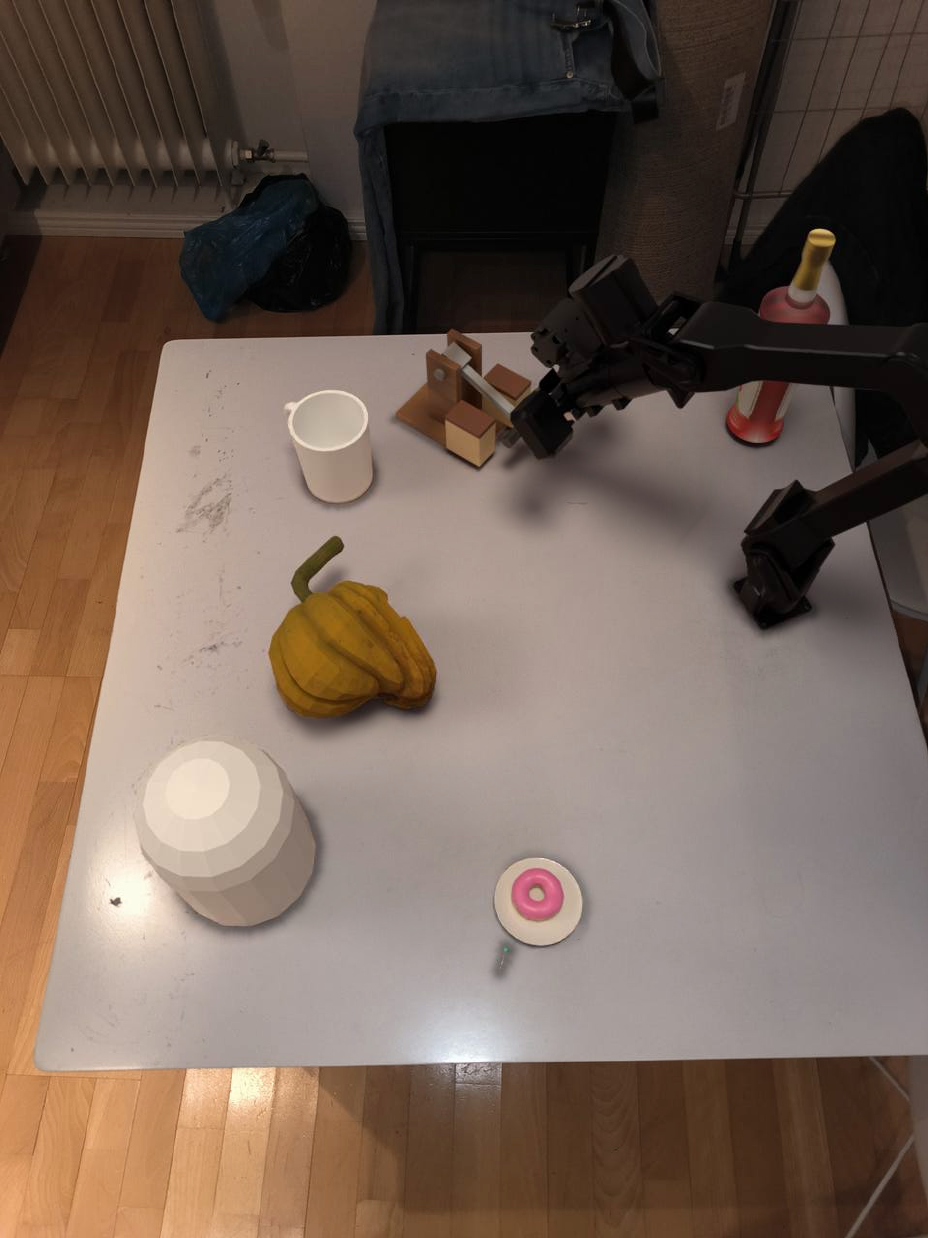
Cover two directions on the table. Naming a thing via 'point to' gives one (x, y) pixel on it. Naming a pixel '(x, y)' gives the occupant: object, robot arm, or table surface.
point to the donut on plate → (538, 901)
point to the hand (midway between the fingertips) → (532, 397)
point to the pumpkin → (346, 648)
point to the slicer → (444, 391)
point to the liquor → (797, 303)
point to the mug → (332, 444)
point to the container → (225, 830)
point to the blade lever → (483, 388)
